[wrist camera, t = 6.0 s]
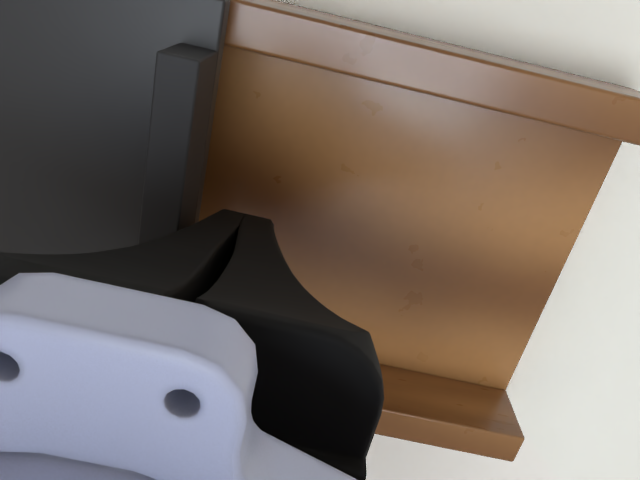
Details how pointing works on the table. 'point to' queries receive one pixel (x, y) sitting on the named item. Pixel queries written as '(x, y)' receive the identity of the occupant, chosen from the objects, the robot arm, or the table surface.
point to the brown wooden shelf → (414, 197)
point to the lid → (104, 120)
